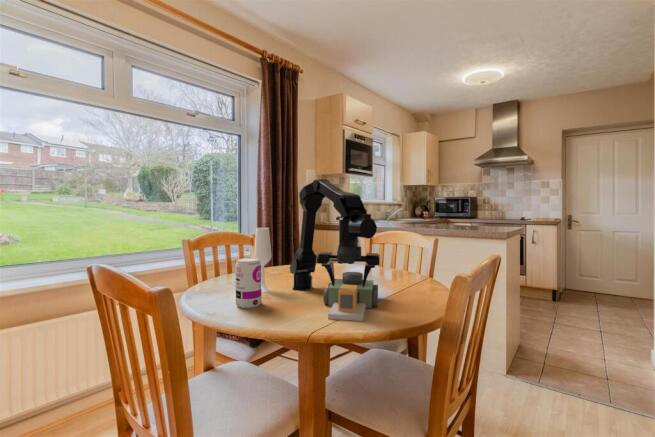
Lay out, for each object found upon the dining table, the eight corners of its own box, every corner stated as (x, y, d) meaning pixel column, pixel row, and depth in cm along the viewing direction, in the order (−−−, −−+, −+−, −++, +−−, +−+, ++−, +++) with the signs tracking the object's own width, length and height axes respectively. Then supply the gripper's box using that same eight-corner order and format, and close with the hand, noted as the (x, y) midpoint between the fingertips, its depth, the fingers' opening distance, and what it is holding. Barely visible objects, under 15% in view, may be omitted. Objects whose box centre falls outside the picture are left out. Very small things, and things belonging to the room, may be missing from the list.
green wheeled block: (315, 318, 97) (315, 287, 96) (330, 294, 121) (330, 270, 121) (375, 321, 94) (375, 290, 93) (378, 297, 118) (378, 272, 118)
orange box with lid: (338, 311, 98) (338, 291, 98) (341, 303, 107) (341, 284, 106) (354, 312, 98) (355, 292, 97) (357, 303, 106) (357, 285, 105)
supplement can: (266, 302, 112) (265, 258, 111) (252, 310, 104) (252, 262, 104) (245, 300, 115) (244, 257, 114) (230, 307, 107) (230, 261, 106)
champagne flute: (273, 288, 131) (272, 227, 130) (270, 292, 124) (270, 228, 123) (255, 288, 131) (255, 227, 130) (252, 292, 124) (251, 228, 123)
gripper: (312, 237, 95) (312, 292, 95) (379, 238, 91) (378, 295, 92) (320, 234, 106) (320, 282, 106) (379, 235, 102) (379, 285, 103)
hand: (348, 286), depth 102 cm, fingers open, 9 cm apart
